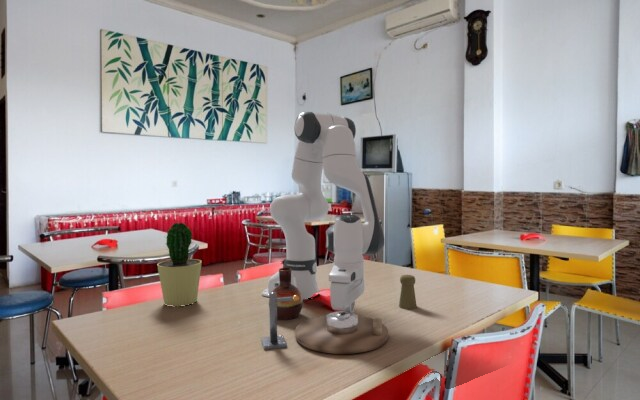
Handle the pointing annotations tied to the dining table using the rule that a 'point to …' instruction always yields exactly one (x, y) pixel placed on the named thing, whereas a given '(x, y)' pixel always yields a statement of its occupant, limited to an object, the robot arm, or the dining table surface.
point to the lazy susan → (341, 336)
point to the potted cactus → (179, 268)
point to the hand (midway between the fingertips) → (349, 316)
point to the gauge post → (275, 323)
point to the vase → (287, 290)
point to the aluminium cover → (342, 323)
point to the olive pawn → (407, 292)
